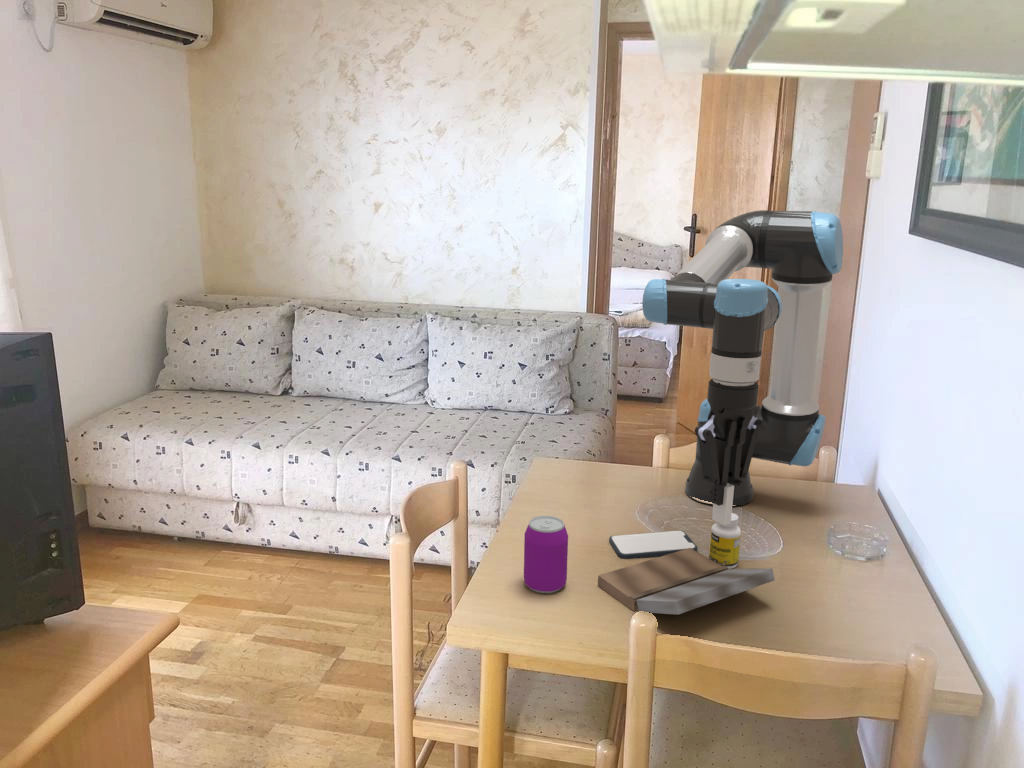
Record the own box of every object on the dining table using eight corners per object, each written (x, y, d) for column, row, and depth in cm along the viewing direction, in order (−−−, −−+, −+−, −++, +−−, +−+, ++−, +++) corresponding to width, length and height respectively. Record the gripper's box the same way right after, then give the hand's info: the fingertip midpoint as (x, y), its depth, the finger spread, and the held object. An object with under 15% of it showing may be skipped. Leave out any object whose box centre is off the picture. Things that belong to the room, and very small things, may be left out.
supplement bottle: (703, 563, 152) (707, 515, 149) (717, 554, 156) (721, 507, 153) (729, 573, 148) (733, 524, 146) (743, 563, 152) (747, 515, 150)
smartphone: (620, 563, 153) (699, 556, 155) (620, 555, 153) (699, 548, 155) (607, 542, 161) (682, 536, 164) (607, 535, 161) (683, 529, 164)
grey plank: (733, 579, 145) (730, 568, 145) (775, 580, 136) (772, 568, 136) (639, 612, 134) (636, 600, 134) (678, 614, 125) (675, 601, 125)
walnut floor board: (689, 557, 154) (689, 546, 154) (727, 579, 146) (728, 567, 145) (597, 585, 143) (598, 573, 142) (633, 611, 135) (634, 598, 134)
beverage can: (532, 571, 148) (534, 511, 145) (572, 579, 145) (574, 518, 142) (517, 590, 141) (518, 527, 138) (558, 599, 138) (560, 535, 135)
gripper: (721, 390, 117) (708, 538, 123) (781, 380, 124) (767, 521, 130) (685, 379, 124) (675, 521, 129) (745, 370, 130) (732, 505, 136)
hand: (721, 521), depth 130 cm, fingers closed
